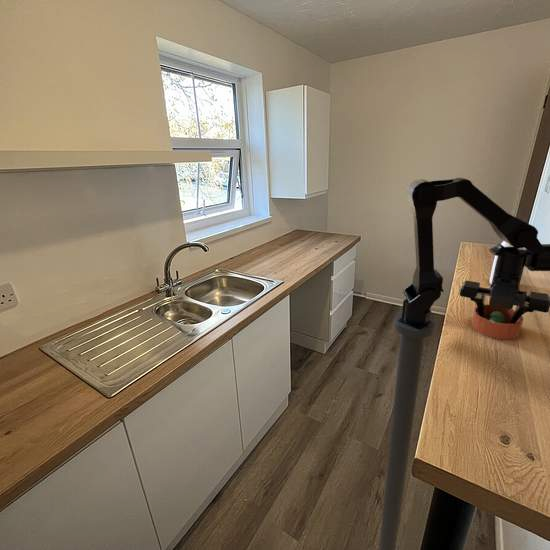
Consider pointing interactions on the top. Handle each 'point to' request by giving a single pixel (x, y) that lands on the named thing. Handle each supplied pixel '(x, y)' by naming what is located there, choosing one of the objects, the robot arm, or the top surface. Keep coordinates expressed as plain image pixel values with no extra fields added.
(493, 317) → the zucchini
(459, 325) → the top surface
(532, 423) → the top surface
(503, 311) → the bowl
